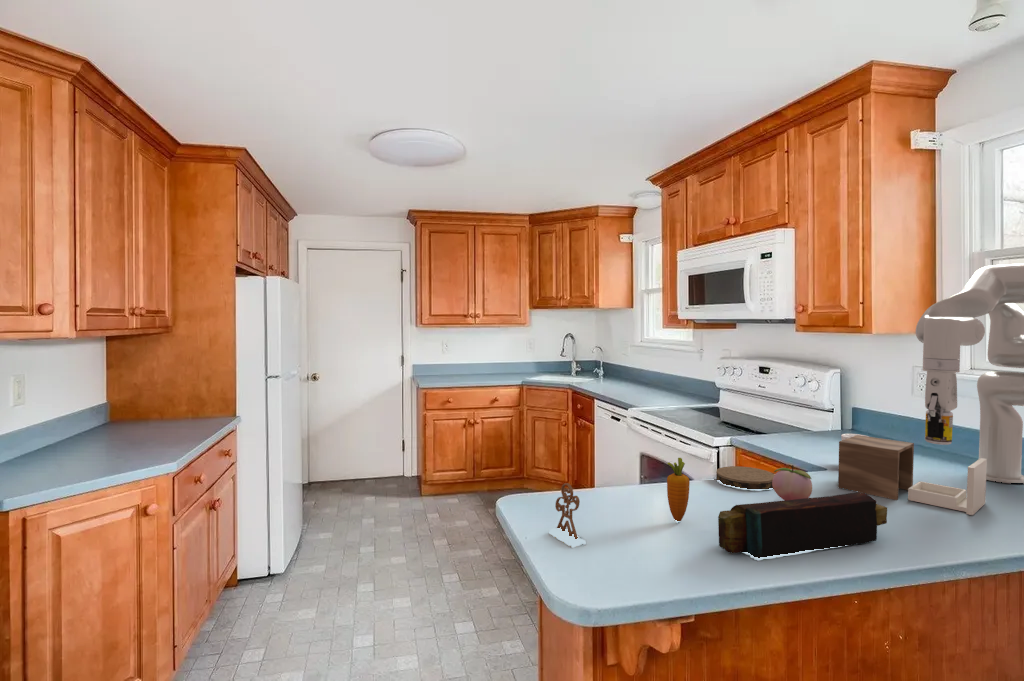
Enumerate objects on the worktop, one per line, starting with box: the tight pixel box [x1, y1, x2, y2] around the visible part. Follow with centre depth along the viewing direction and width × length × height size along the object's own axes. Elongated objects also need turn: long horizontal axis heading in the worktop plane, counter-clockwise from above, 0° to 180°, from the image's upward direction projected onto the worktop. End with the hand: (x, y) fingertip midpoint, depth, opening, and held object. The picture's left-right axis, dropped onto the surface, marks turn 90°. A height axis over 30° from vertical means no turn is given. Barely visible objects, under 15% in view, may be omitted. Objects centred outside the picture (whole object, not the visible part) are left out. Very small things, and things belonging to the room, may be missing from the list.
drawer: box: [907, 458, 987, 516], centre depth 143 cm, size 14×14×11 cm
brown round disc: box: [715, 465, 775, 489], centre depth 161 cm, size 16×16×3 cm
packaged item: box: [717, 491, 888, 558], centre depth 117 cm, size 39×10×10 cm, turn 107°
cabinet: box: [837, 434, 915, 501], centre depth 155 cm, size 14×14×13 cm
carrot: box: [666, 457, 691, 522], centre depth 128 cm, size 5×5×15 cm
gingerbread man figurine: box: [555, 482, 580, 539], centre depth 119 cm, size 9×4×12 cm, turn 29°
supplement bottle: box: [924, 408, 954, 446], centre depth 144 cm, size 6×6×10 cm
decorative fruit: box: [772, 465, 813, 501], centre depth 142 cm, size 9×8×10 cm
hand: (938, 435), depth 144 cm, fingers closed on supplement bottle, 5 cm apart
